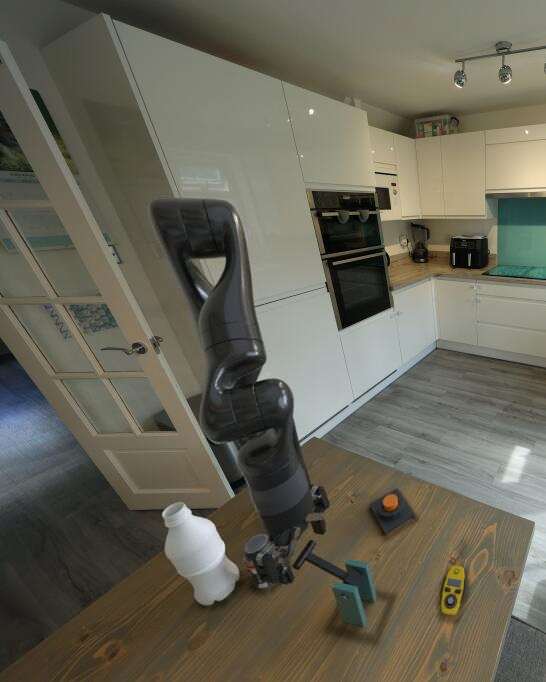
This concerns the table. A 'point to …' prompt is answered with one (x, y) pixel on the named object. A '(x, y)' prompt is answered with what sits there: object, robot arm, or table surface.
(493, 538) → the table surface
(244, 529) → the table surface
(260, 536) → the supplement bottle
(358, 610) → the pair of teal panels
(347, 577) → the lever
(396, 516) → the control block
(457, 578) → the remote control
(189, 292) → the robot arm
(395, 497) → the button
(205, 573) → the water bottle
